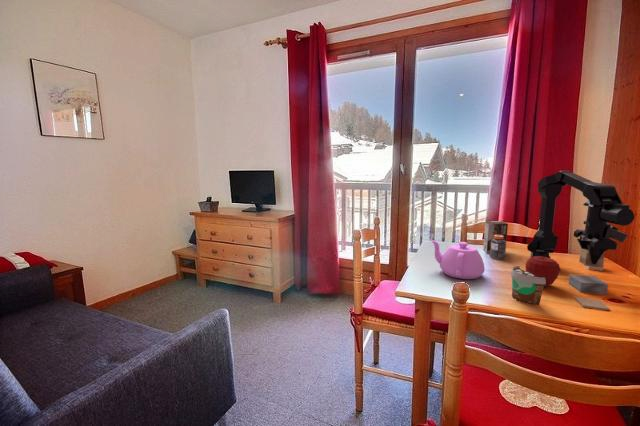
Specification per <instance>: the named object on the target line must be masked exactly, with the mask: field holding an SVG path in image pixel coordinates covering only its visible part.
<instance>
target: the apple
mask: <svg viewBox="0 0 640 426" xmlns="http://www.w3.org/2000/svg"><path fill="white" fill-rule="evenodd" d="M525 271H527V272H530V273H532V274H534V275H535V276H537V277H540V278H545V280H546V284H544V286H543V288H544V287H547V286H550V285H552V284H554V283H555V281H556V280H557V278H559V274H560V273H561V267H560V264H559V263H558V262H557V261H556V260H555V259H554V258H551V257H550V258H547V257H544V256H543V257H542V256H534V257H531V258H530V257H529V258H527V260H526V262H525Z"/></svg>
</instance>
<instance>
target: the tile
mask: <svg viewBox="0 0 640 426" xmlns="http://www.w3.org/2000/svg"><path fill="white" fill-rule="evenodd" d="M573 298H574V300H575V301H576V302H577V303H578V304H579V305H580V306H581V307H582V308H585V307H586V308H588V309H594V310H600V311H601V310H602V311H611V308H610V307H609V306H607V305H606V304H605V303H604V302H603V301H602V300H600V299H596V298H589V297H588V298H587V297H581V296H574V297H573Z"/></svg>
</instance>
